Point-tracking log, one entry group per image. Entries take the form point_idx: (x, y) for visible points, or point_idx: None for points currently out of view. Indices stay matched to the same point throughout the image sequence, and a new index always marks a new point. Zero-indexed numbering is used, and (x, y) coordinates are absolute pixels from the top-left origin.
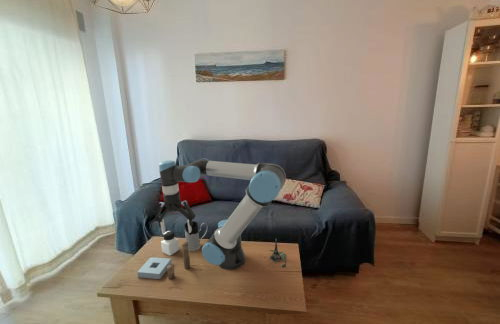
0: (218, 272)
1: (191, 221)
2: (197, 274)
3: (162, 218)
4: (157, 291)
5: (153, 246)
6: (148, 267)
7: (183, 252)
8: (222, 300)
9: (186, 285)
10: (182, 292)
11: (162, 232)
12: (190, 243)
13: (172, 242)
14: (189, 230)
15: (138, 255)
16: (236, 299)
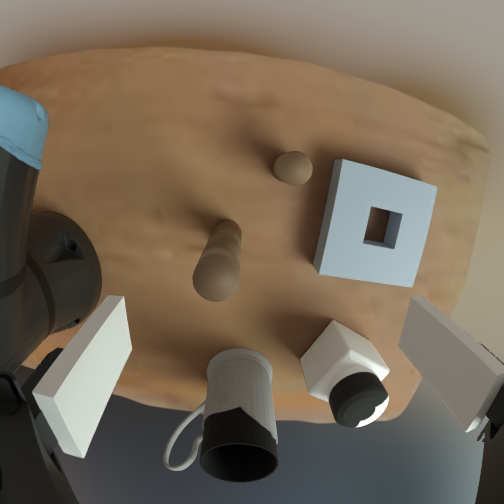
0: (83, 195)
1: (24, 385)
2: (166, 181)
3: (490, 435)
4: (318, 87)
5: (406, 371)
6: (404, 213)
7: (230, 244)
8: (62, 59)
9: (199, 112)
10: (207, 75)
11: (428, 303)
12: (242, 374)
13: (333, 368)
14: (103, 308)
15: None
16: (28, 73)
